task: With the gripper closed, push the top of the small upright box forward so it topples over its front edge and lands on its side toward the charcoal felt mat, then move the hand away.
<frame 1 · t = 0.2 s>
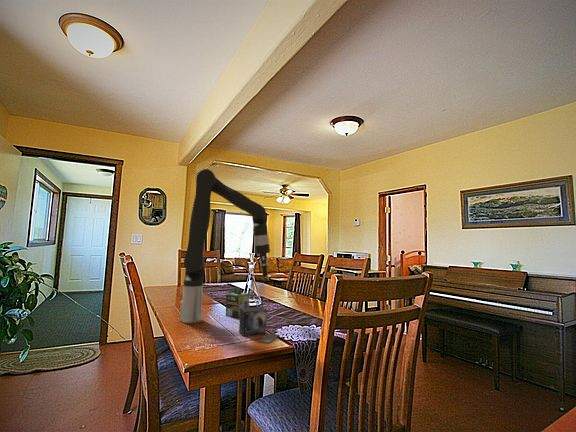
hand: (265, 275, 158), 22 cm above the table, tool pointing down, fingers open, 8 cm apart
felt mat: (269, 338, 128), on the table
small box: (252, 333, 134), on the table
chalk box: (237, 315, 164), on the table
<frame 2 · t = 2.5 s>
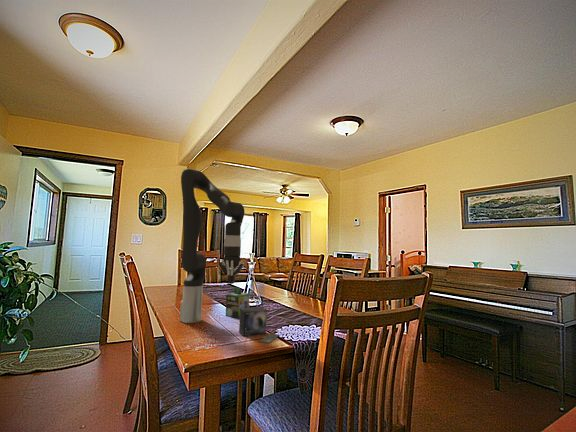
hand: (231, 283, 140), 20 cm above the table, tool pointing down, fingers closed
nothing on the table moved.
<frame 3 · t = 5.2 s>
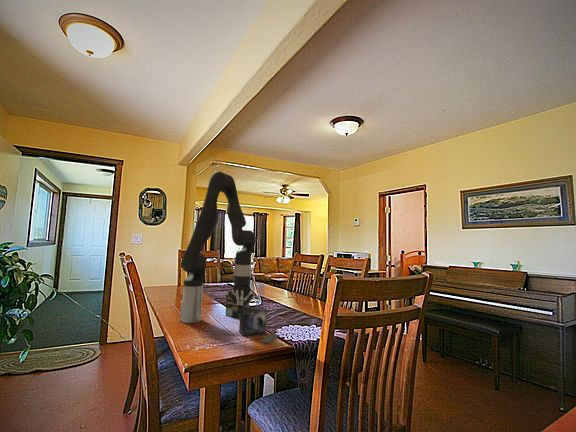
hand: (240, 313, 137), 8 cm above the table, tool pointing down, fingers closed
small box: (252, 333, 134), on the table, touching gripper
everything else where it was.
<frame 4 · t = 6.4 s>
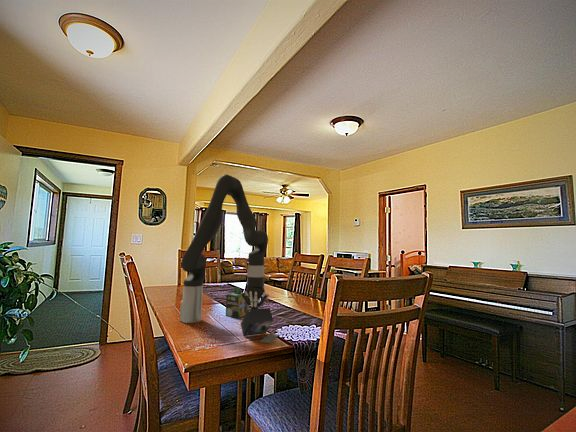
hand: (254, 315, 135), 8 cm above the table, tool pointing down, fingers closed
small box: (253, 329, 134), point 2 cm above the table
everything else where it was.
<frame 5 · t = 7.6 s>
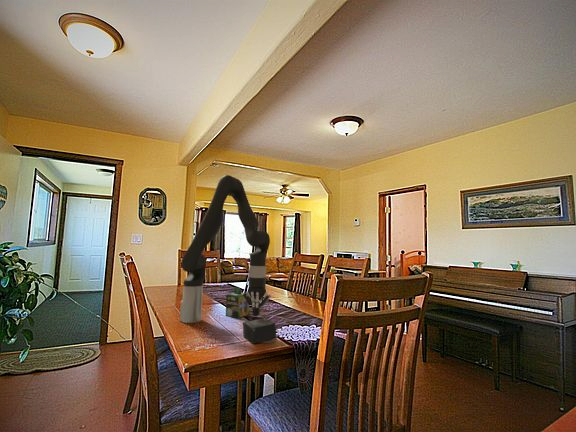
hand: (256, 315, 135), 8 cm above the table, tool pointing down, fingers closed
small box: (254, 327, 132), point 3 cm above the table, touching felt mat
everything else where it was.
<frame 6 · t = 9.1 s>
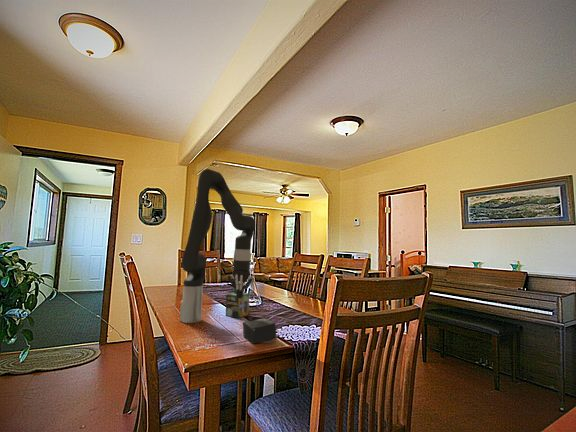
hand: (239, 298, 138), 14 cm above the table, tool pointing down, fingers closed
nothing on the table moved.
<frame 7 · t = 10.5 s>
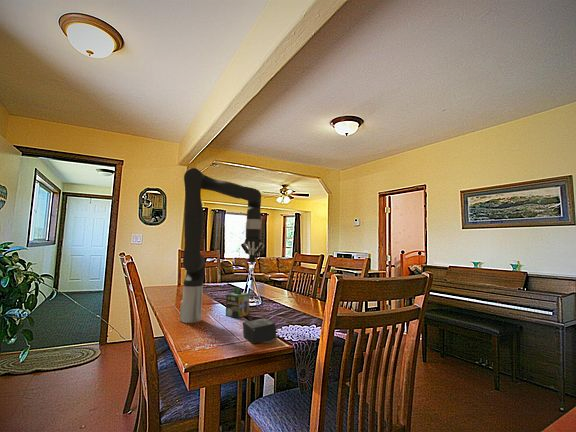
hand: (252, 262, 156), 29 cm above the table, tool pointing down, fingers closed
nothing on the table moved.
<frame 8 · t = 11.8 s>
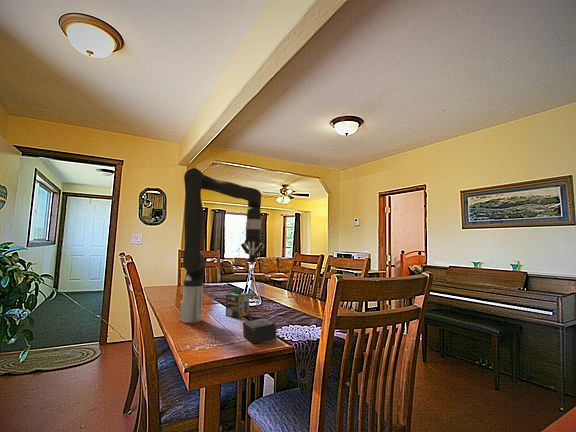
hand: (252, 262, 156), 29 cm above the table, tool pointing down, fingers closed
nothing on the table moved.
at the end: small box tilted 88°; small box inside the target area (8.1 cm from its centre), point 3.3 cm above the table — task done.
